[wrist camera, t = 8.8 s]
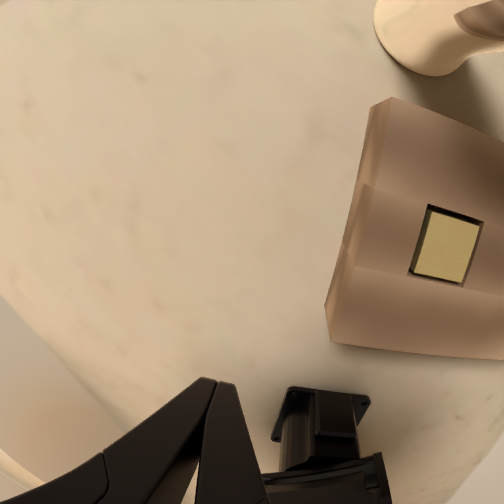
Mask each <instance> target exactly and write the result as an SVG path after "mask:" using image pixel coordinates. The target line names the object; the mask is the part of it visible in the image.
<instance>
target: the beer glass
mask: <svg viewBox="0 0 504 504" xmlns="http://www.w3.org/2000/svg"><path fill="white" fill-rule="evenodd" d="M373 21H374V27H375V31H376V34H377V36H378V38H379V40H380V42H381V43H382V45H383V47H384V48H385V49H386V51H387V52H388V53H389V54H390V55H391V56H392V57H393V58H394V59H395V60H396V61H397V62H399V63H400V64H401V65H403V66H404V67H406V68H408V69H409V70H411V71H414V72H416V73H419V74H422V75H426V76H443V75H447V74H449V73H451V72H453V71H454V70H456V69H457V68H458V67H459V66H460V65H461V64H462V63H463V62H464V61H465V60H466V59H467V58H469V57H470V56H472V55H476V54H480V53H489V52H504V0H378V2H377V3H376V5H375V8H374V14H373Z"/></svg>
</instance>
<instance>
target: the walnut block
mask: <svg viewBox="0 0 504 504" xmlns="http://www.w3.org/2000/svg"><path fill="white" fill-rule="evenodd" d="M427 204H431V205H435V206H438V207H441V208H444V209H448V210H450V211H449V212H451V213H453V214H456V215H458V216H460V217H462V218H464V219H466V220H468V221H470V222H472V223H474V224H476V225H478V226H480V227H479V231H478V234H477V237H476V241H475V244H474V247H473V250H472V253H471V257H470V260H469V263H468V265H467V268H466V271H465V274H464V277H463V280H462V282H456V281H452V280H447V279H443V278H438V277H433V276H429V275H424V274H419V273H415V272H413V271H412V270H411V268H410V264H411V261H412V257H413V254H414V251H415V248H416V244H417V241H418V237H419V234H420V230H421V227H422V223H423V219H424V216H425V212H426V208H427ZM324 306H325V311H326V317H327V323H328V328H329V334H330V340H331V342H336V343H342V344H349V345H356V346H363V347H370V348H377V349H385V350H393V351H401V352H410V353H419V354H429V355H439V356H450V357H463V358H477V359H494V360H504V143H503V142H501V141H499V140H497V139H495V138H493V137H491V136H489V135H487V134H485V133H483V132H481V131H479V130H477V129H474V128H472V127H470V126H468V125H465V124H463V123H461V122H459V121H456V120H454V119H451V118H449V117H446V116H444V115H441V114H439V113H436V112H434V111H431V110H428V109H426V108H423V107H420V106H417V105H414V104H412V103H409V102H406V101H403V100H400V99H397V98H393V97H391V98H389V99H387V100H384V101H382V102H380V103H378V104H376V105H374V106H372V107H370V112H369V118H368V124H367V129H366V135H365V140H364V146H363V151H362V156H361V161H360V166H359V171H358V176H357V180H356V185H355V190H354V194H353V198H352V203H351V207H350V211H349V216H348V220H347V224H346V228H345V232H344V236H343V240H342V244H341V248H340V252H339V256H338V259H337V263H336V267H335V270H334V274H333V278H332V281H331V285H330V288H329V292H328V295H327V299H326V302H325V305H324Z"/></svg>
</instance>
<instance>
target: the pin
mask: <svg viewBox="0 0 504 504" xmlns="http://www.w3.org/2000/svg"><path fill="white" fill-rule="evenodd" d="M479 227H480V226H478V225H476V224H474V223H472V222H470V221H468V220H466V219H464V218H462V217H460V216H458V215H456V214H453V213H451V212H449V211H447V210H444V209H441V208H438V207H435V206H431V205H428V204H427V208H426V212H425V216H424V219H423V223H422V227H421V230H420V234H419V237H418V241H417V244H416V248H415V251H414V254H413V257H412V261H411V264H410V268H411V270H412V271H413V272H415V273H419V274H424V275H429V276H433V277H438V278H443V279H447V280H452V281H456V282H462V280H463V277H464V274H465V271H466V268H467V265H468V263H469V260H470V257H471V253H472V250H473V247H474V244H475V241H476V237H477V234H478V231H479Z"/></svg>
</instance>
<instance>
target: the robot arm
mask: <svg viewBox="0 0 504 504" xmlns="http://www.w3.org/2000/svg"><path fill="white" fill-rule="evenodd" d="M292 392H294V393H295V394H292ZM363 401H365V402H363ZM369 405H370V398H369V396H367V395H357V394H348V393H339V392H331V391H323V390H316V389H309V388H302V387H296V386H292V387H289V388H288V389H287V391H286V394H285V397H284V399H283V402H282V405H281V408H280V411H279V414H278V417H277V420H276V422H275V425H274V428H273V431H272V433H271V440H272V441H274V442H279V443H281V447H280V459H279V471H278V472H275V473H264V474H261V472H260V469H259V465H258V462H257V459H256V456H255V452H254V449H253V446H252V442H251V439H250V436H249V432H248V429H247V425H246V422H245V418H244V415H243V411H242V408H241V404H240V401H239V397H238V393H237V390H236V387H235V385H234V384H232V383H227V382H223V381H219V382H218V383H217V381H216V380H214V379H210V378H206V377H200V378H199V379H197V380H196V381H195V382H194V383H192V384H191V385H190V386H188V387H187V388H186V389H185V390H183V391H182V392H181V393H180V394H178V395H177V396H176V397H174V398H173V399H172V400H171V401H169V402H168V403H167V404H165V405H164V406H163V407H161V408H160V409H159V410H157V411H156V412H155V413H153V414H152V415H151V416H150V417H148V418H147V419H145V420H144V421H143V422H141V423H140V424H139V425H137V426H136V427H135V428H133V429H132V430H131V431H129V432H128V433H126V434H125V435H124V436H123V437H121V438H120V439H118V440H117V441H115V442H114V443H113V444H111V445H110V446H108V447H107V448H105V449H104V450H103V453H101V452H100V453H98V454H96V455H95V456H94V457H92V458H91V459H89V460H88V461H86V462H85V463H83V464H82V465H80V466H78V467H77V468H75V469H73V470H72V471H70V472H68V473H66V474H64V475H62V476H60V477H58V478H56V479H54V480H52V481H50V482H48V483H46V484H44V485H41V486H39V487H37V488H34V489H32V490H30V491H27V492H25V493H23V494H20V495H18V496H15V497H13V498H10V499H8V500H5V501H2V502H0V504H181V502H182V499H183V497H184V495H185V493H186V490H187V488H188V486H189V484H190V481H191V479H192V477H193V475H194V472H195V470H196V468H197V465H198V463H199V468H198V477H197V485H196V494H195V503H194V504H392V499H391V494H390V489H389V484H388V479H387V475H386V470H385V466H384V462H383V457H382V453H381V452H379V453H375V454H373V455H372V456H368V457H364V458H361V453H360V446H359V439H358V432H357V426H358V424H359V423H360V421H361V419H362V417H363V416H364V414H365V412H366V410H367V409H368V407H369Z"/></svg>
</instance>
